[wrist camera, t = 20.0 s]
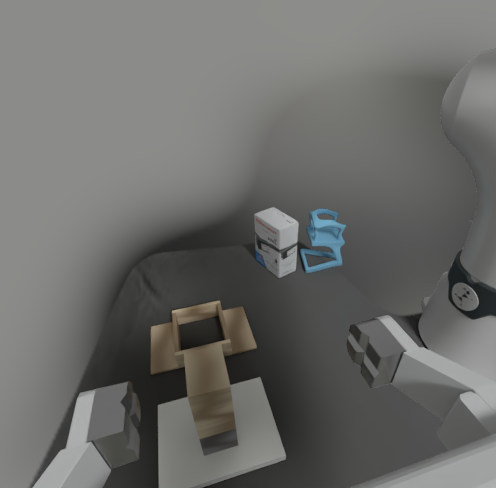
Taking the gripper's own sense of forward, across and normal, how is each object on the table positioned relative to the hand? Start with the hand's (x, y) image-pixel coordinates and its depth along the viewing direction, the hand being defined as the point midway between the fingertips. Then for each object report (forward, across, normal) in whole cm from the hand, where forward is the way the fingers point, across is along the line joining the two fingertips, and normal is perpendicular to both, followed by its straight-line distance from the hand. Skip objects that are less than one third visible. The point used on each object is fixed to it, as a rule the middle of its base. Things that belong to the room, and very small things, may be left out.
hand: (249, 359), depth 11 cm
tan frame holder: (+27, +2, +30) cm, 40 cm away
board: (+12, +2, +30) cm, 32 cm away
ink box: (+42, -16, +30) cm, 54 cm away
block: (+12, +2, +29) cm, 31 cm away
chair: (+40, -26, +30) cm, 56 cm away
